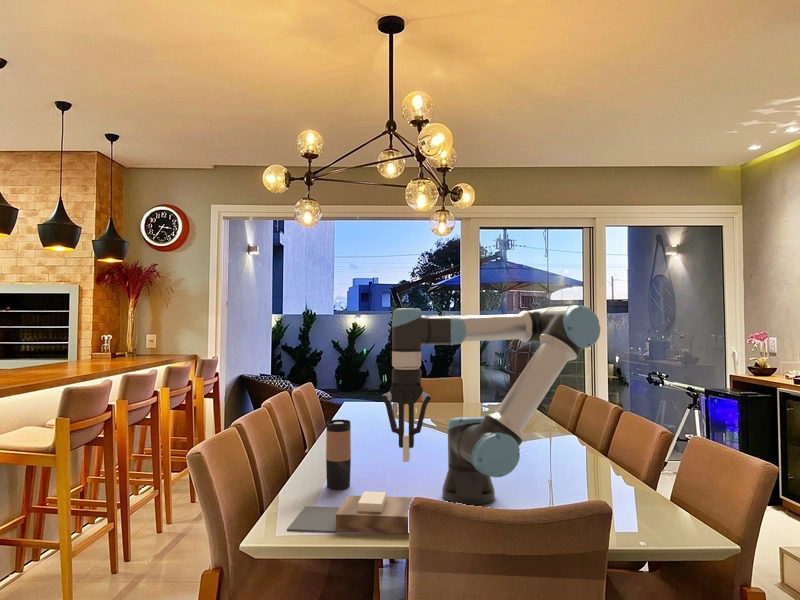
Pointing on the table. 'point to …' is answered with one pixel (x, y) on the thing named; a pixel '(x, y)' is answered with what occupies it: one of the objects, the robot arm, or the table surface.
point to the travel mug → (338, 454)
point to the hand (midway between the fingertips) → (406, 460)
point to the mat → (315, 519)
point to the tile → (372, 501)
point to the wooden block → (374, 516)
